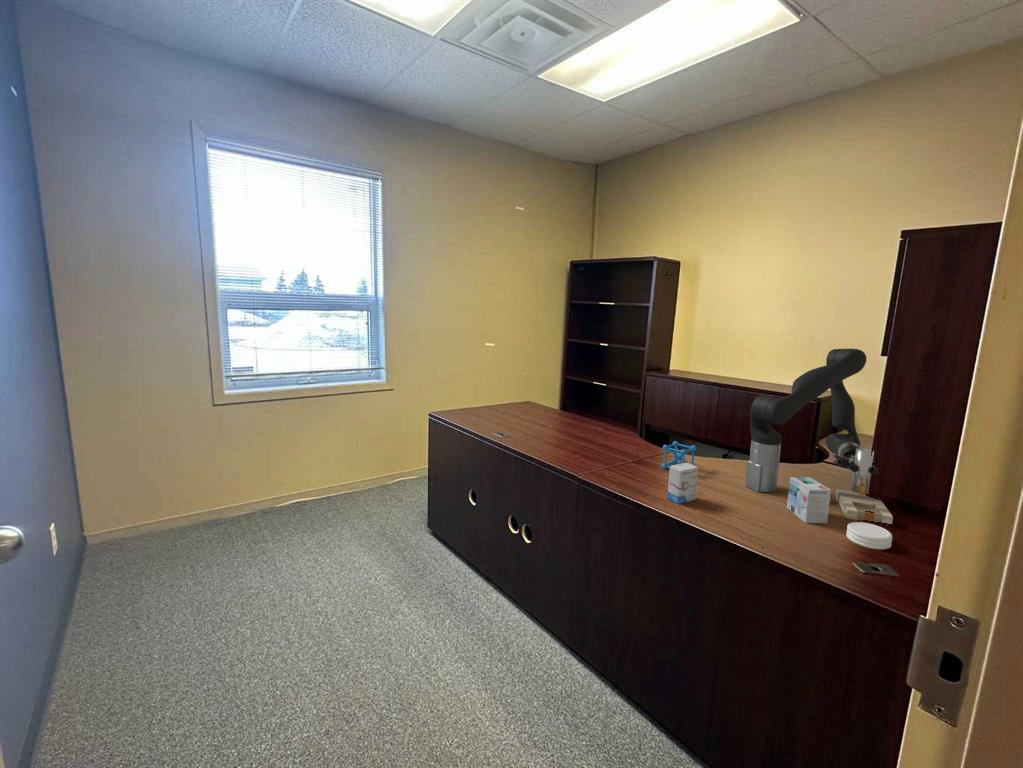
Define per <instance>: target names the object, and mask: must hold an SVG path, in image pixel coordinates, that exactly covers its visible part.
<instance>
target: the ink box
mask: <svg viewBox="0 0 1023 768" xmlns="http://www.w3.org/2000/svg"><path fill="white" fill-rule="evenodd" d="M694 465H695V464H694ZM694 465H692V463H689V462H688V463H685V462H684V463H683V464H676V465H674V464H671V466H669V467H670V468H669V474H668V482H667V483H668V486H667V495H666V496H667V497H666V498H667V500H669V501H671V502H673V503H675V504H677V505H680V504H683V503H687V502H690V501H694V500H696V498H697V497H696V496H697V495H696V494H697V486H698V485H697V484H698V476H699V475H698V474H699V466H696V465H695V466H694Z"/></svg>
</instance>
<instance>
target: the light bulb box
mask: <svg viewBox="0 0 1023 768" xmlns="http://www.w3.org/2000/svg"><path fill="white" fill-rule="evenodd" d="M831 493H832V489H830V488H829V487H827V486H826V485H824V484H822V483H821V482H819V481H818V480H815V479H814V478H812V477H811V476H810V477H809V476H807V477H806V476H805V477H803V476H802V477H800V476H795V477H794V476H791V477H789V485H788V493H787V494H788V495H787V500H786V501H787V502H786V503H787V504H786V508H787V509H788V510H789V511H790V512H791V513H793V515H795V516H796V517H798V518H799V519H800V520H801V522H804V523H805V524H827V523H828V518H829V510H830V501H831Z"/></svg>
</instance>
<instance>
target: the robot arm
mask: <svg viewBox="0 0 1023 768" xmlns="http://www.w3.org/2000/svg"><path fill="white" fill-rule="evenodd" d="M825 363H826V364H825V365H823V366H819V367H816V368H812V369H810V370H808V371H806V372H804V373H803V374H800V376H798V377H796V378H795V380H794V381H793V382H792V386H791V393H790V394H788V395H787V396H784V397H781V398H779V397H778V398H777V397H773V396H768V395H759V396H757V397H755V398H754V400H753V401H752V404H751V408H750V426H749V427H750V428H749V432H750V434H751V442H750V451H749V453H750V454H749V460H747V462H746V470H745V471H746V472H745V485H744V486H745V487H747V488H748V489H751V490H753V491H756V492H758V493H761V492H762V493H775V492H777V487H778V477H779V470H780V469H779V468H780V458H781V457H780V456H781V447H782V440H783V439H782V435H781V434H780V433H779V432H777V431H776V430H775V429H774V428H773V426H772V425H774V426H780V425H783V424H785V423H786V422H788V421H789V420H790V419H791V418H792V417H793V416H794V415H795V414H797V413H798V412H799V411H800V410H802V409H803V408H804V407H805V406H807V405H808V404H809V403H810V402H812V401H813V400H815V399H817V398H818V397H820V396H822V395H823V394H824V393H825V392H827V391H830V395H831V403H832V404H831V406H832V407H831V414H832V416H831V418H832V419H831V424H832V426H833V427H835V428H839V429H843V430H846V431H847V433H831V434H829V435H828V436H827V437H826V440H825V445H826V447H827V449H828V450H829V452H830V453H832V454H834V455H833V463H834V464H835V465H837V466H838V467H840V468H845V467H846V468H847V469H849V470H850V471H852V473H853V472H856V465H855V464H854V462H855V455H856V448H863V447H861V440H860V439H859V435H858V433H857V430H856V429H857V428H856V421H855V416H856V408H855V403H854V400H853V399H852V396H851V395H850V394H849V392H848V391H847V389H846V386H845V385H844V380H846V379H848V378H850V377H852V376H853V375H856V374H858V373H860V372H861V371H862V370H863V369H864V367H865V365H866V363H867V355H866V353H865V352H864V351H862V350H861V349H858V348H834V349H831V350H830V351H829V352H828V353H827V355H826V362H825ZM878 473H879V472H878V468H876V467H875V466H874V465H872V470H871V475H874V476H876V475H877V474H878Z"/></svg>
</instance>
